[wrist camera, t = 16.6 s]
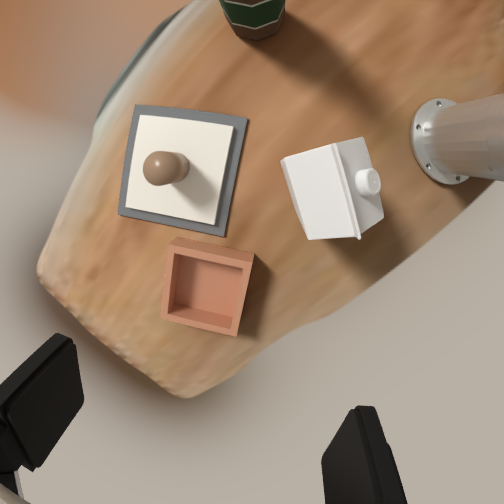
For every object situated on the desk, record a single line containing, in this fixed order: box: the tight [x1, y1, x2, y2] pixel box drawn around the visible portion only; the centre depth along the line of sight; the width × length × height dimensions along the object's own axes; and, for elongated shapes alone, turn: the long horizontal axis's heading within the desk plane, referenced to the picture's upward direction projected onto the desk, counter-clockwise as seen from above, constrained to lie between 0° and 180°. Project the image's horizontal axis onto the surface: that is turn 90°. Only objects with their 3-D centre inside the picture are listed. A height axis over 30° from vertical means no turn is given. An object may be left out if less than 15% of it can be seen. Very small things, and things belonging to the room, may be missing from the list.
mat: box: [118, 105, 248, 237], centre depth 39 cm, size 16×16×1 cm
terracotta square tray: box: [160, 237, 254, 337], centre depth 42 cm, size 11×11×4 cm
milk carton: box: [280, 137, 384, 240], centre depth 30 cm, size 7×7×19 cm
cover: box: [125, 115, 234, 225], centre depth 36 cm, size 13×13×7 cm
